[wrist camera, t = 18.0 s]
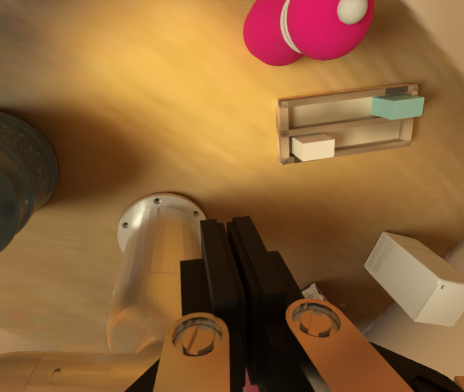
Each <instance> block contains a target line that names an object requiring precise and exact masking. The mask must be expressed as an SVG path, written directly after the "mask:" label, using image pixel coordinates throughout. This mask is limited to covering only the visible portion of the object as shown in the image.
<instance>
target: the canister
mask: <svg viewBox="0 0 464 392" xmlns="http://www.w3.org/2000/svg"><path fill="white" fill-rule="evenodd" d="M57 179H58V162H57V158H56V155H55V153H54V150H53V148H52V147H51V145H50V143H49V142H48V140H47V139H46V138H45V137H44V136H43V135H42V133H41V132H39V131H38V130H37V129H36V128H35V127H34V126H32V125H31V124H29V123H28V122H26V121H25V120H23V119H21V118H19V117H17V116H14V115H11V114H8V113H5V112H0V252H1V251H2V250H3V249H5V248H6V247H7V246H8V244H9V243H10V242H11V241H12V239H13V238H14V236H15V235H16V234H17V233H18V232H19V231H20V230H21V229H22V228H23V227H24V226H25V225H26V223H27V222H28V220H29V218H30V217H31V216H32V215H33V214H34V213H35V212H36V211H37V210H39V209H40V208H41V207H42V206H43V205H44V204H45V203H46V202H47V201H48V200H49V198H50V197H51V195H52V194H53V192H54V189H55V187H56V183H57Z"/></svg>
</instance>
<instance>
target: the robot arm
mask: <svg viewBox="0 0 464 392" xmlns="http://www.w3.org/2000/svg"><path fill="white" fill-rule="evenodd" d="M156 198H158V199H159V200H156ZM194 211H197V212H196V213H195V212H194ZM124 222H126V223H127V224H126V223H124ZM117 235H118V243H119V246H120V249H121V251H122V253H123V258H122V262H121V266H120V269H119V273H118V277H117V281H116V285H115V288H114V292H113V296H112V300H111V304H110V308H109V312H108V316H107V324H106V330H107V339H108V344H109V347H110V350H111V353H112V354H106V353H82V352H57V351H48V352H46V351H20V352H10V353H5V354H0V392H243V387H245V384H246V369H247V373H248V377H249V381H250V384H251V386H252V385H257V386H258V389H259V392H464V376H455V378H454V381H452V380H451V379H449V378H448V377H446V376H445V375H443V374H441V373H439V372H437V371H435V370H433V369H431V368H429V367H426V366H424V365H422V364H420V363H417V362H415V361H413V360H410V359H408V358H406V357H403V356H401V355H399V354H397V353H395V352H392V351H390V350H387V349H385V348H383V347H381V346H378V345H376V344H374V343H372V342H369V341H368V340H367V339H366V338H365V337H364V336H363V335H362V334H361V333H360V332H359V330H358V329H357V328H356V327H355V326H354V325H353V324H352V323H351V322H350V320H349V319H348V318H347V317H346V316H345V315H344V314H343V313H342V312H341V311H340V310H339V309H338V308H337V307H335V306H334V305H332V304H330V303H328V302H326V301H323V300H319V299H312V298H307V299H305V297H304V296H303V294H302V292H301V290H300V289H299V287H298V285H297V283H296V281H295V280H294V278H293V276H292V274H291V273H290V271H289V269H288V267H287V266H286V264H285V262H284V260H283V259H282V257H281V255H280V253H279V252H278V251H269V252H267V250H266V248H265V246H264V244H263V242H262V240H261V238H260V236H259V234H258V232H257V230H256V228H255V226H254V224H253V222H252V220H251V218H250V217H249V216H245V217H233V221H232V222H227V234H226V231H225V228H224V225H223V223H217V220H216V219H209V220H207V218H206V216H205V214H204V213H203V211H202V210H201V208H200V207H199V206H198V205H197V204H196V203H194V202H193V201H191V200H190V199H188V198H186V197H183V196H181V195H177V194H173V193H155V194H151V195H148V196H145V197H143V198H141V199H139V200H137V201H136V202H134V203H133V204H132V205H130V206H129V208H128V209H127V210H126V211H125V212H124V214H123V216H122V218H121V220H120V223H119V227H118V232H117Z"/></svg>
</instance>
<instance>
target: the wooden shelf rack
mask: <svg viewBox="0 0 464 392" xmlns="http://www.w3.org/2000/svg"><path fill="white" fill-rule="evenodd" d="M418 87H419V84H411V83H402V84H394V85H385V86H377V87H369V88H361V89H353V90H345V91H337V92H329V93H321V94H312V95H304V96H296V97H288V98H280V99H276V123H277V150H278V160H279V161H280V162H281V163H282V164H283V165H284V164H291V163H299V162H306V161H302V160H300V159H299V158H298V157H297V156H295V155H294V154H293V153H292V152H291V138H290V136H297V135H304V134H311V133H319V132H321V133H323V134H325V135H327V136H329V137H331V138H333V139H335V146H334V157H338V156H345V155H352V154H358V153H365V152H372V151H379V150H385V149H392V148H399V147H406V146H410V144H411V136H412V129H413V122H414V117H410V118H402V119H395V120H390V119H386V118H383V117H379V116H375V115H372V114H371V107H372V97H377V96H385V95H393V94H407V95H414V96H417V94H418ZM330 158H331V157H330ZM323 159H324V158H323ZM317 160H318V159H317ZM310 161H313V160H310Z"/></svg>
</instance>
